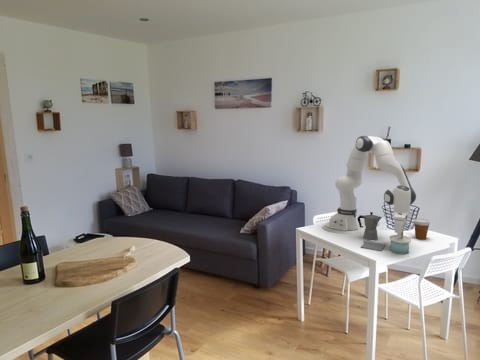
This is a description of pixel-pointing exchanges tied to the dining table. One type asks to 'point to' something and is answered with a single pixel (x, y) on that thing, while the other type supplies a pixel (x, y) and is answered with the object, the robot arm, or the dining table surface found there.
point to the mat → (373, 246)
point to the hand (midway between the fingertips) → (400, 236)
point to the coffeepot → (370, 226)
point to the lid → (400, 240)
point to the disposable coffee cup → (421, 228)
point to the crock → (399, 247)
